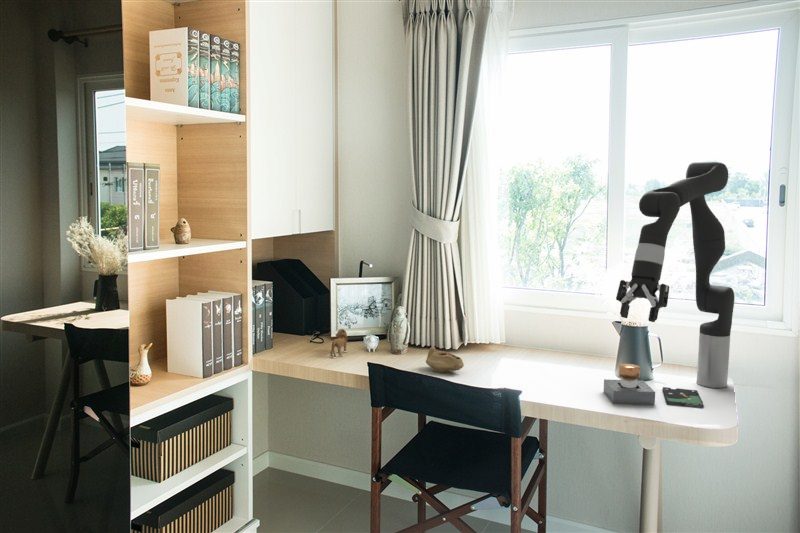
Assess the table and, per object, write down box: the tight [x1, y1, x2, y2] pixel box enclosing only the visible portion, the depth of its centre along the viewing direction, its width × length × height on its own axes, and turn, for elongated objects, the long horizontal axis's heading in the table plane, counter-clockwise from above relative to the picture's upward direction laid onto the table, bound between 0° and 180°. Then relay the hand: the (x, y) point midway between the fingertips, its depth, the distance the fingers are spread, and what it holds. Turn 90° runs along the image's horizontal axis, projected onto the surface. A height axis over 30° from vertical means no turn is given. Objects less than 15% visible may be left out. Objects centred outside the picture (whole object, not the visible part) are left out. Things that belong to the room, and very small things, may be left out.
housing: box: [603, 379, 656, 406], centre depth 197 cm, size 12×12×5 cm
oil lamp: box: [425, 346, 465, 373], centre depth 230 cm, size 11×15×8 cm
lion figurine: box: [329, 328, 349, 358], centre depth 253 cm, size 15×5×9 cm, turn 175°
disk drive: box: [662, 386, 704, 409], centre depth 197 cm, size 10×3×15 cm
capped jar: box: [618, 363, 641, 388], centre depth 197 cm, size 6×6×10 cm
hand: (637, 319), depth 177 cm, fingers open, 8 cm apart
